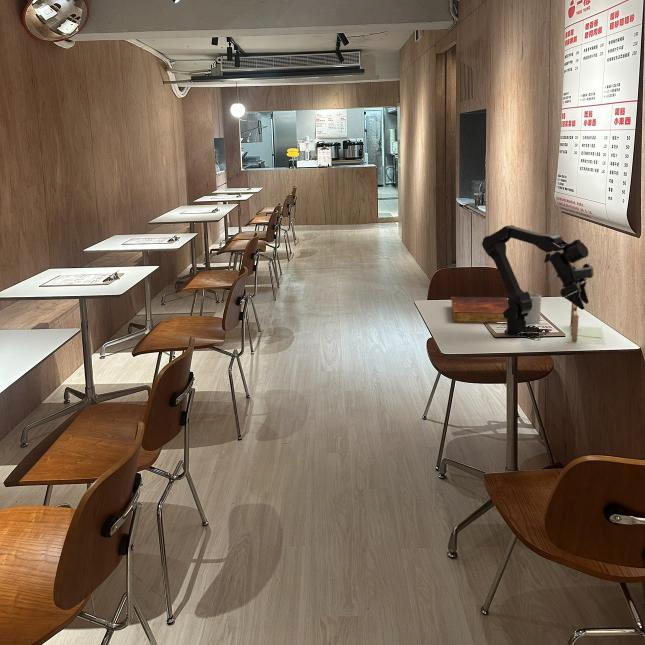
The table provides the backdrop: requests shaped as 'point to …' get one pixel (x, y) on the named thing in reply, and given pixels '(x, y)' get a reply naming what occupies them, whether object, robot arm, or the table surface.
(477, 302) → the book
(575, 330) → the block
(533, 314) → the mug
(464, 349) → the table surface
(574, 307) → the fence frame
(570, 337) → the card
